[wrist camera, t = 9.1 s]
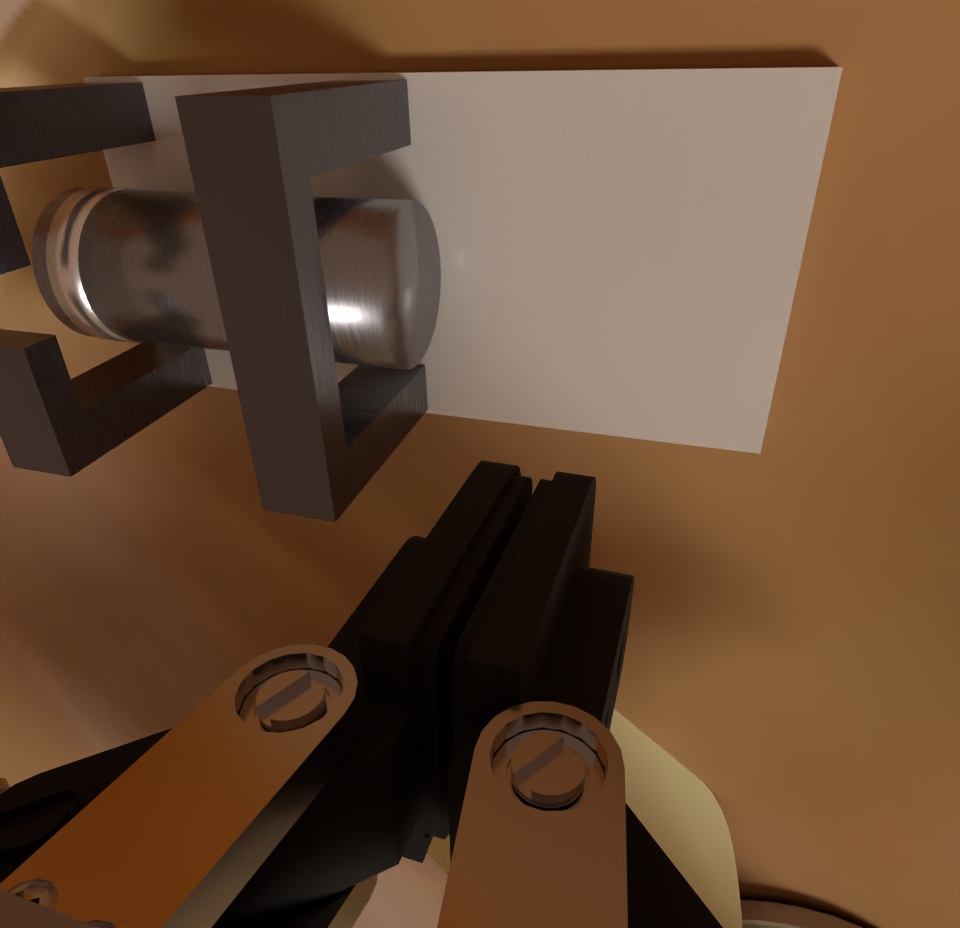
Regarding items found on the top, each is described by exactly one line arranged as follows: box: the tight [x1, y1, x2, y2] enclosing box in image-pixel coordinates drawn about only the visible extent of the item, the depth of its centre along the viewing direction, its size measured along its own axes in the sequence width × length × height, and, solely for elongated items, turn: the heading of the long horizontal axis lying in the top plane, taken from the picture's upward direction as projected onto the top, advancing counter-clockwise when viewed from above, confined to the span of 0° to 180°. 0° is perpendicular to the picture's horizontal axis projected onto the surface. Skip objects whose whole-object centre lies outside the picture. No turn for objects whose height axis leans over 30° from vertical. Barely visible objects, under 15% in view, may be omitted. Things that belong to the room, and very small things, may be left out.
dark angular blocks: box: [0, 82, 212, 477], centre depth 19 cm, size 2×9×8 cm, turn 2°
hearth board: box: [83, 66, 843, 454], centre depth 20 cm, size 20×10×1 cm, turn 92°
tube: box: [32, 187, 441, 370], centre depth 19 cm, size 10×4×4 cm, turn 92°
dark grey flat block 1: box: [175, 80, 428, 522], centre depth 18 cm, size 2×9×6 cm, turn 2°
